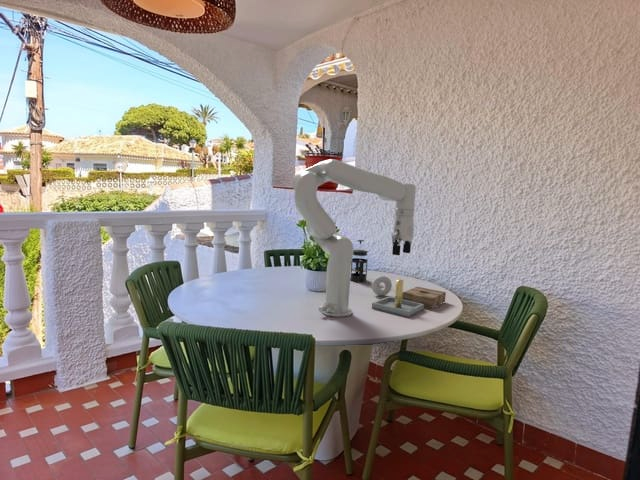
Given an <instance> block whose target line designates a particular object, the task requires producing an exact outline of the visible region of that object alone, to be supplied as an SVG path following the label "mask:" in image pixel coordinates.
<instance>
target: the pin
mask: <svg viewBox="0 0 640 480" xmlns="http://www.w3.org/2000/svg"><path fill="white" fill-rule="evenodd" d="M403 290H404V279H399V278H397V279H395V290H394V291H395V293H394V298H395V305H394V307H395V308H401V307H402V295H403V292H404V291H403Z"/></svg>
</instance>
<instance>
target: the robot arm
mask: <svg viewBox="0 0 640 480" xmlns="http://www.w3.org/2000/svg"><path fill="white" fill-rule="evenodd" d="M328 182H332V183H334V184H336V185H337V184H338V185H341V186H343V187H346V188H349V189H351V190H354V191H358V192H361V193H362V192H364V193H371V194H375V195H377V196H378V197H379V199H381V200H383V201H390V202H391V201H393V202H395V213H394V214H395V215H394V216H395V220H394V227H393V234H392V235H391V241H392V253H391V254H392V255H393V256H400V254H401V244H402V242H403V247H402V252H403V253H404V254H410V253H411V249H412V245H411V244H412V241H413V239H414V231H415V230H414V229H415V228H414V227H415V226H414V224H415V223H414V221H415V220H414V216H415V215H414V213H415V202H416V193H417V191H416V190H417V187H416V185H415V184H413V183H402V182H401V181H398V180H396V179H393V178H390V177H388V176H385V175H381V174H378V173H375V172H373V171H369V170H366V169H363V168H360V167H356V166H353V165H351V164H350V163H349V164H348V163H347V162H343V161H341V160H338V159H334V158H330V159H325V160H322V161H319V162H318V163H316V164H314V165H313V166H309V167H308V168H305V169H303V170H301V171H299V172H297V173H295V174H294V176H293V177H292V179H291V187H292V189H293V190H294V203H295V207H296V209H297V210H298V212H299V214H300V215H301V217H302V218H303V219H304V221H305V222H306V229H307V232H308V233H309V234H310V236H311V237H312V238H313V240H314V241H315V242H316V244H317V245H318V246H319V247H320V249H321V250H322V251H323V252H324V253H325V254H327V255H328V260H327V264H326V283H325V301H324V303H323V305H322V306H319V307H318V312H319V313H321V314H323V315H325V316H328V317H334V318H335V317H336V318H344V317H348V316H350V315H352V313H353V309H352V308H350V307H349V305H350V304H349V303H350V302H349V301H350V288H351V287H350V285H351V281H350V277H351V261H352V259H353V258H354V257H353V256H354V255H353V250H354V244H353V242H352V241H351V239H350V238H348V237H347V236H345V235H341V234H339V233H338V232H337V231H336V228H337V227H336V223H335V221H334V219H333V218H332V217H331V216H330V215H329V213H328V212H327V211H326V210H325V208H324V207H323V206H322V204H321V202H320V201H319V199H318V197H317V194H318V193H317V191H318V187H320V186H322V185H324V184H325V183H328Z"/></svg>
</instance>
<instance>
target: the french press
mask: <svg viewBox="0 0 640 480" xmlns="http://www.w3.org/2000/svg"><path fill="white" fill-rule="evenodd" d="M356 241H357V242H359V249H353V256H356V257H357V256H358V257H357V258H356V257H355V258H354V257H352V261H351V270H350V282H353V283H366V282H367V281H368V280H367V276H368V275H367V274H368V273H367V272H368V259H366V258H361V257H367V256H368V253H369V251H368V250H366V249H365V250H364V249H361V247H362V242H365V240H363V239H357V240H356ZM353 263H355V267H353ZM364 264H365V265H364ZM364 266H365V268H364ZM353 272H354V273H353Z"/></svg>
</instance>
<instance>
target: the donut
mask: <svg viewBox="0 0 640 480" xmlns="http://www.w3.org/2000/svg"><path fill="white" fill-rule="evenodd" d="M381 283H383V284H384V287H382V288H380V287H379V285H380V284H381ZM392 287H393V284H392V281H391V279H390V278H389V276H386V275H379V276H376V277H375V278H374V279H373V281H372V282H371V290H372V292H373V293H374V294H375V295H376V296H379V297H382V296H383V297H384V296H386V295H388V294H389V293H390V292H391V291H392Z"/></svg>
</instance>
